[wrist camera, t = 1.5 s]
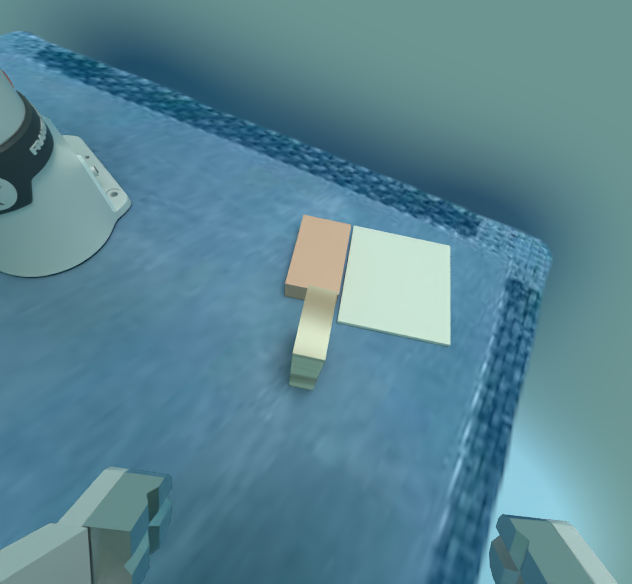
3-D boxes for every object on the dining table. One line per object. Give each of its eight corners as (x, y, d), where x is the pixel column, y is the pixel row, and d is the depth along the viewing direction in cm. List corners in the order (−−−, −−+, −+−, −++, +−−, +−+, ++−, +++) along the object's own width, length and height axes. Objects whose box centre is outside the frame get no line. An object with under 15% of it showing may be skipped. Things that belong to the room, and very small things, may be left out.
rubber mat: (447, 346, 39) (450, 344, 38) (336, 322, 39) (337, 320, 38) (448, 248, 45) (450, 246, 45) (353, 228, 45) (353, 225, 45)
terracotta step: (334, 306, 40) (338, 294, 37) (284, 295, 40) (285, 283, 37) (346, 239, 44) (351, 224, 42) (302, 229, 44) (303, 214, 42)
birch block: (312, 390, 35) (325, 360, 25) (289, 385, 35) (292, 353, 25) (322, 336, 38) (337, 291, 28) (300, 332, 38) (308, 284, 28)
